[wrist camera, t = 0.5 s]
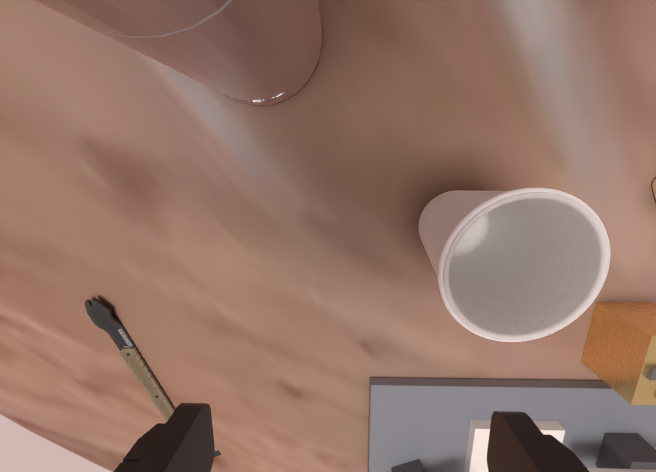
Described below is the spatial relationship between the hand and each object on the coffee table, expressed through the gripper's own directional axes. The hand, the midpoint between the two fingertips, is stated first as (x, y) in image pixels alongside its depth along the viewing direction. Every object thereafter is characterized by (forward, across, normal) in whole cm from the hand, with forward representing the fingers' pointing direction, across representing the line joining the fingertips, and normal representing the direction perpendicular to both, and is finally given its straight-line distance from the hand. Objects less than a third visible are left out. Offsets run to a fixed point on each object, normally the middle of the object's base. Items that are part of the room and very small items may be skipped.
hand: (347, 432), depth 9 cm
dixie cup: (+18, -9, -3) cm, 20 cm away
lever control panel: (+19, -16, +19) cm, 31 cm away
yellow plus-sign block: (+18, -24, +7) cm, 31 cm away
